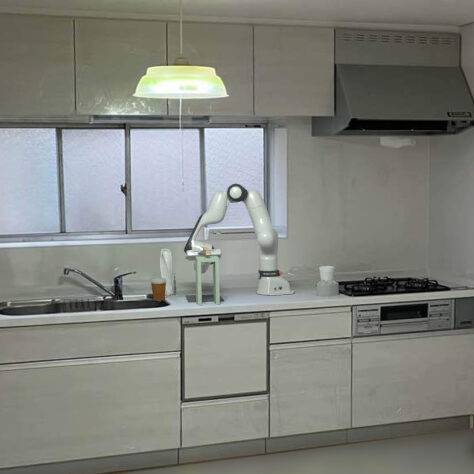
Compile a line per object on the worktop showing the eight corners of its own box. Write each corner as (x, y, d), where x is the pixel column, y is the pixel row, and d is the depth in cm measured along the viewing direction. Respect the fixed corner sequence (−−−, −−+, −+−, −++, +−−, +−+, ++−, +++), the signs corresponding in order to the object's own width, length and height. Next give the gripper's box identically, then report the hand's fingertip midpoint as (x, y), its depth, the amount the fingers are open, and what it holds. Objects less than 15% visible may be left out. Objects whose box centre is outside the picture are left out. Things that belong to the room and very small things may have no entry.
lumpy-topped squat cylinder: (340, 295, 425) (340, 280, 425) (323, 297, 419) (323, 282, 418) (329, 292, 434) (329, 278, 433) (312, 295, 427) (312, 280, 427)
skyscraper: (169, 296, 430) (168, 249, 428) (158, 295, 434) (156, 248, 431) (176, 294, 438) (175, 248, 435) (165, 293, 441) (164, 247, 439)
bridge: (217, 301, 409) (216, 255, 407) (219, 304, 400) (218, 257, 397) (196, 302, 408) (195, 256, 405) (198, 305, 398) (197, 258, 395)
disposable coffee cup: (160, 301, 412) (159, 280, 411) (147, 300, 418) (146, 279, 416) (170, 298, 421) (170, 278, 420) (157, 297, 426) (157, 277, 425)
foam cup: (333, 288, 448) (333, 268, 447) (318, 288, 450) (318, 267, 449) (334, 286, 457) (334, 266, 456) (320, 286, 459) (320, 266, 458)
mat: (218, 295, 432) (218, 294, 432) (224, 300, 411) (224, 299, 411) (185, 296, 428) (185, 295, 428) (188, 302, 408) (188, 301, 408)
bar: (202, 251, 414) (201, 247, 413) (206, 251, 414) (206, 246, 414) (206, 255, 395) (205, 250, 395) (210, 254, 395) (210, 250, 395)
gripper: (184, 254, 422) (186, 244, 410) (219, 253, 425) (222, 243, 413) (185, 264, 419) (187, 254, 407) (220, 263, 423) (223, 253, 410)
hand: (204, 249), depth 410 cm, fingers closed on bar, 2 cm apart
